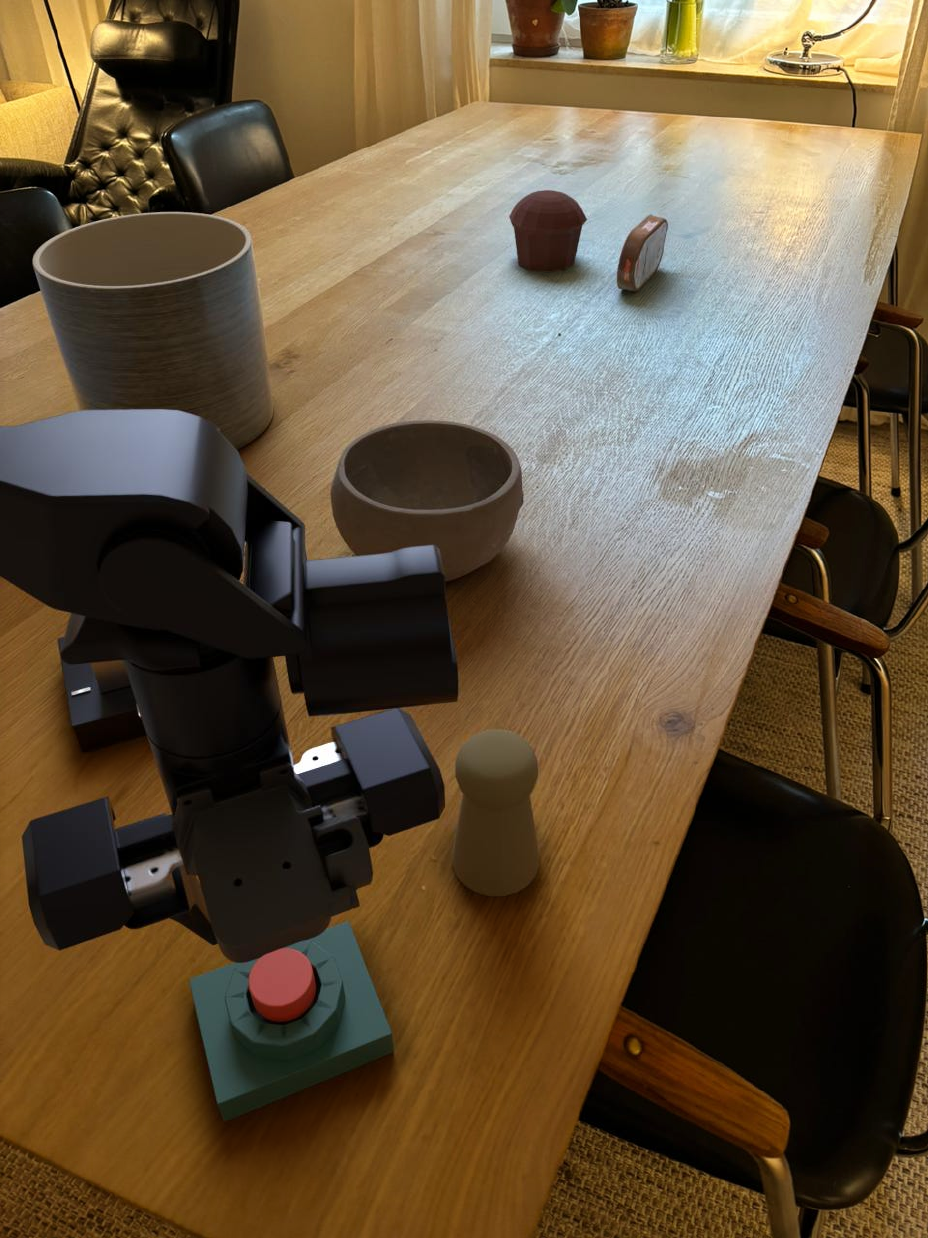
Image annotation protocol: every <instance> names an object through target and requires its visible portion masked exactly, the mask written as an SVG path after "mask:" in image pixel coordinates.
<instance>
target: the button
mask: <svg viewBox="0 0 928 1238" xmlns="http://www.w3.org/2000/svg"><path fill="white" fill-rule="evenodd" d="M248 985H249V990H250V993H251V997H252V1000H253V1004H254V1006H255V1009H256V1010H257V1012H258V1013H259V1014H260V1015H261V1016H262V1017H264V1018H265V1019H267V1020H270V1021H273V1022H287V1021H291V1020H294V1019H296V1018H298V1017H299V1016H301V1015H302V1014H304V1013H305V1012H306V1011H307V1010H308V1008H309V1007H310V1006H311V1004H312V1002H313V1000H314V998H315V994H316V983H315V978H314V973H313V969H312V965H311V963H310V961H309V959H308V958H307V957H306V956H305V955H304V954H302V953H301V952H299V951H297V950H294V949H287V948H283V949H279V950H276V951H273V952H271V953H268V954H265V955H264V956H262V957H261V958H260V959H259V960H258V961H257V962H256V963H255V965H254V966H253V968H252V970H251V972H250V975H249V980H248Z"/></svg>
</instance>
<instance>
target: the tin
mask: <svg viewBox="0 0 928 1238" xmlns="http://www.w3.org/2000/svg"><path fill="white" fill-rule="evenodd" d="M668 229H669V222H668V220H667V219H666V218H665V217H661V216H656V215H653V214H648V215H646V216H645V218H643V219H641V221H640V222H639V223H638V224H637V225H635V226H634V227H633V228H632V229H631V230H630V231H629V232H628V235H627V236H626V239H625V240H624V243H623V245H622V249H621V252H620V256H619V259H618V264H617V270H616V285H617V288H618V289H619V290H626V291H629V292H638V291H639V290H640V289H642V287H643V286H644V285H645V284H647V282H648V281H649V280H650V279H651V278H652V277H653V275H655V273H656V272H657V270H658V269H659V267H660V264H661V262H662V260H663V256H664V251H665V243H666V239H667V234H668V233H667V232H668Z"/></svg>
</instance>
